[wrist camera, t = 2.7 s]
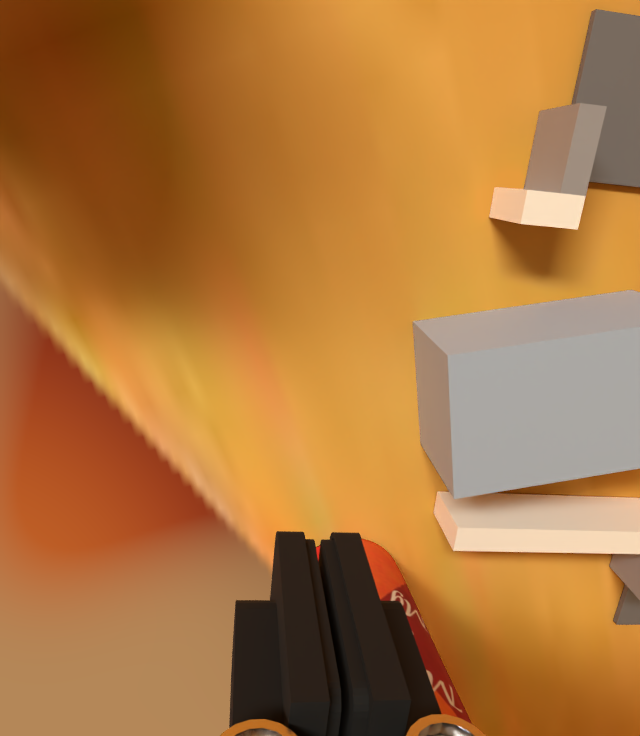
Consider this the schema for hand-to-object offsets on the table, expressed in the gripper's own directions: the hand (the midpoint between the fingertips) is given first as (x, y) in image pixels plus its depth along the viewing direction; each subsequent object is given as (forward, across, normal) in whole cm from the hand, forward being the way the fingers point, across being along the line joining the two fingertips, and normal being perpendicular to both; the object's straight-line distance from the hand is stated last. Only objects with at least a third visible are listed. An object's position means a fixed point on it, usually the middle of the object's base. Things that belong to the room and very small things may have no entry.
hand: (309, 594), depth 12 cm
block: (+14, -11, -1) cm, 18 cm away
